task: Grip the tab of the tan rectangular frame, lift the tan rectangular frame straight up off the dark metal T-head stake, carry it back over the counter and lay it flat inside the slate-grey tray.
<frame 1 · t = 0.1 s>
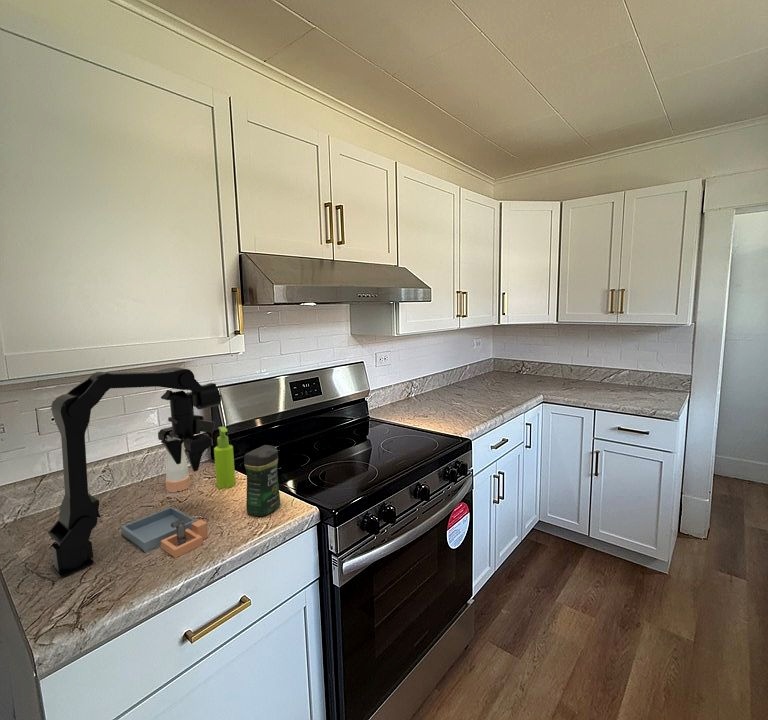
hand: (187, 467, 118), 15 cm above the counter, tool pointing down, fingers open, 9 cm apart
coffee jar: (264, 510, 123), on the counter
tray: (160, 532, 112), on the counter
pepper shaker: (178, 488, 139), on the counter
stake: (182, 546, 105), on the counter
soap dispenser: (226, 486, 140), on the counter
tan rectangular frame: (182, 546, 105), on the counter
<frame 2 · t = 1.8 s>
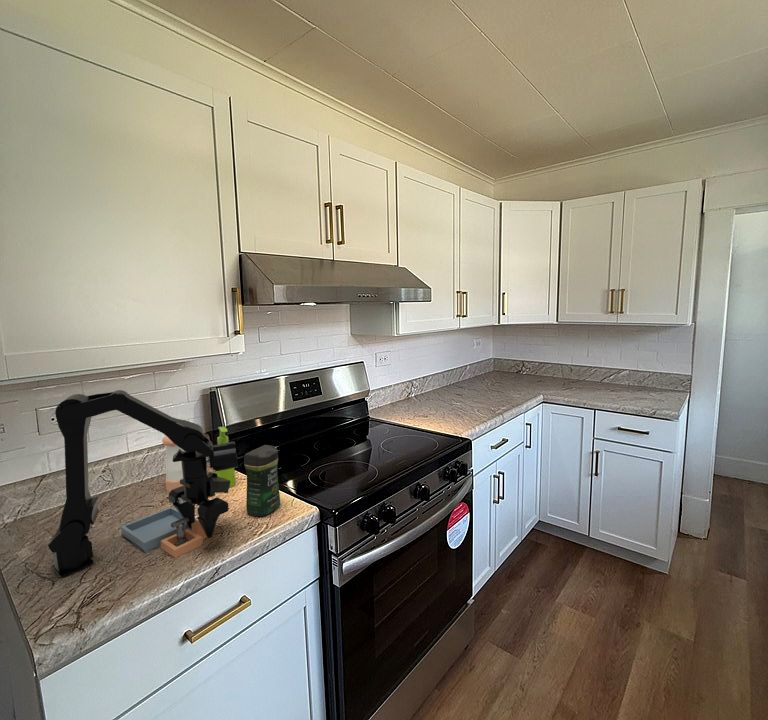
hand: (200, 532, 108), 2 cm above the counter, tool pointing down, fingers open, 8 cm apart
nothing on the counter moved.
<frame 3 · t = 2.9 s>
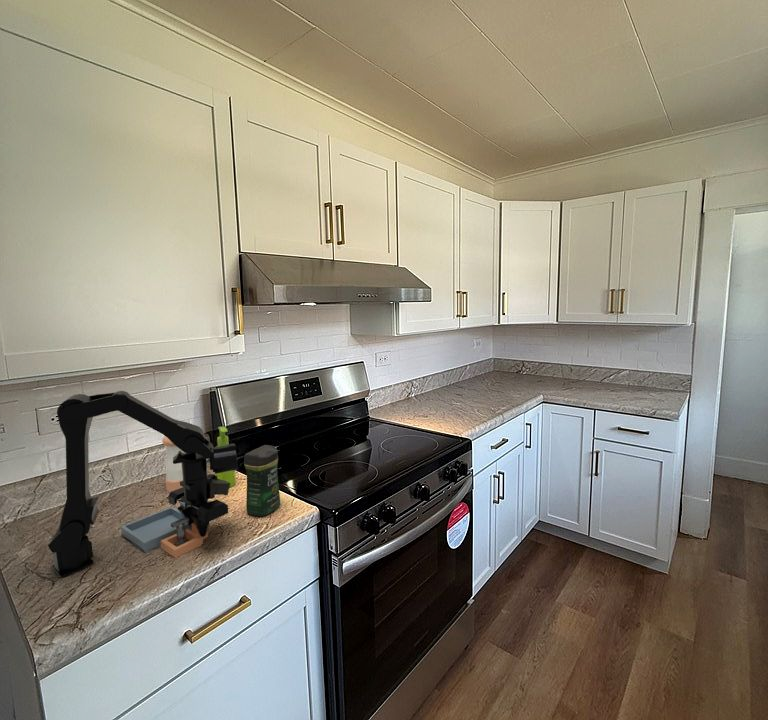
hand: (199, 534, 108), 1 cm above the counter, tool pointing down, fingers closed on tan rectangular frame, 3 cm apart
tan rectangular frame: (182, 546, 105), on the counter, touching gripper
everything else where it was.
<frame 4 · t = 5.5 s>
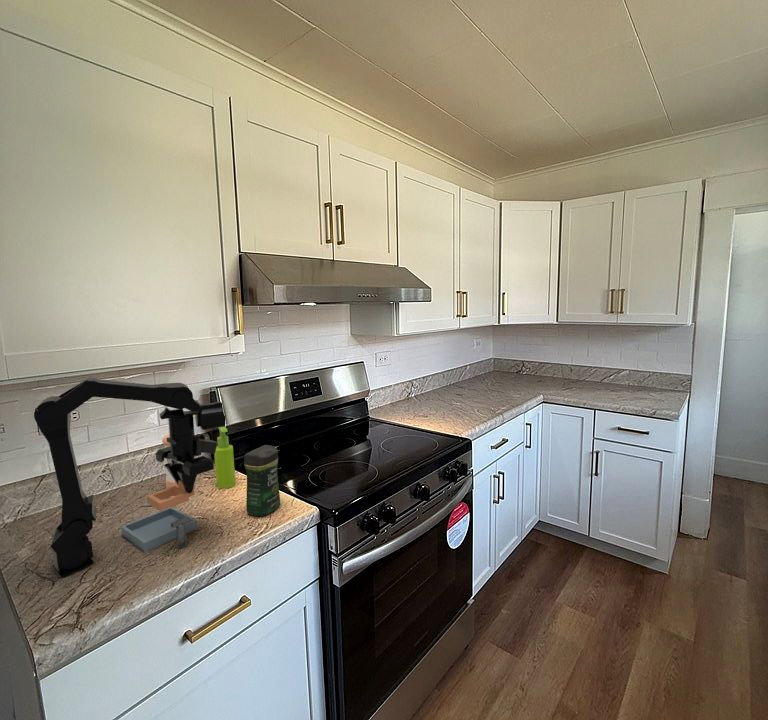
hand: (186, 491, 109), 12 cm above the counter, tool pointing down, fingers closed on tan rectangular frame, 3 cm apart
tan rectangular frame: (168, 501, 105), point 11 cm above the counter, touching gripper
everything else where it was.
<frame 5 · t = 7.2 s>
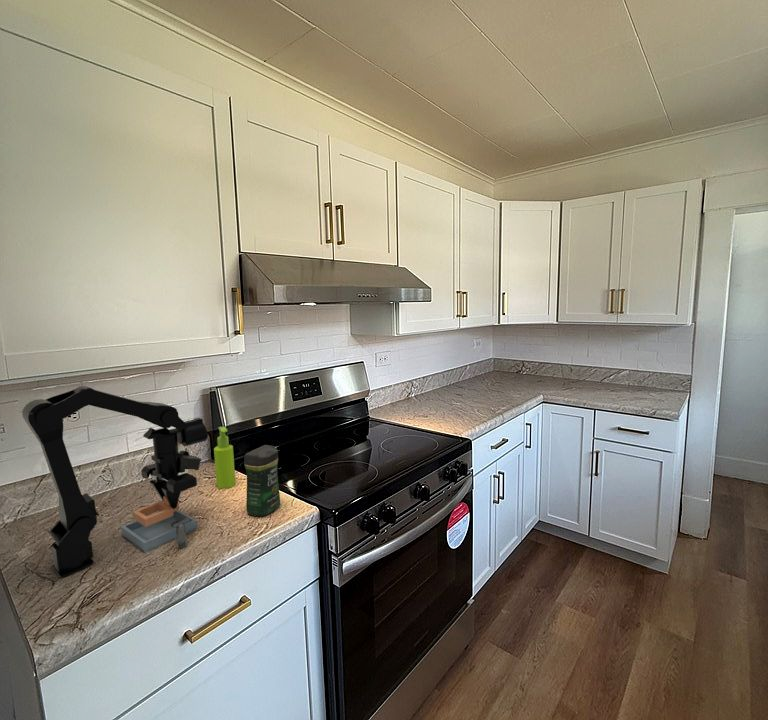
hand: (171, 506, 114), 6 cm above the counter, tool pointing down, fingers closed on tan rectangular frame, 3 cm apart
tan rectangular frame: (153, 517, 110), point 5 cm above the counter, touching gripper
everything else where it was.
when the fingers open (3 cm above the counter, at t = 8.4 s): tan rectangular frame drops 1 cm, resting on tray.
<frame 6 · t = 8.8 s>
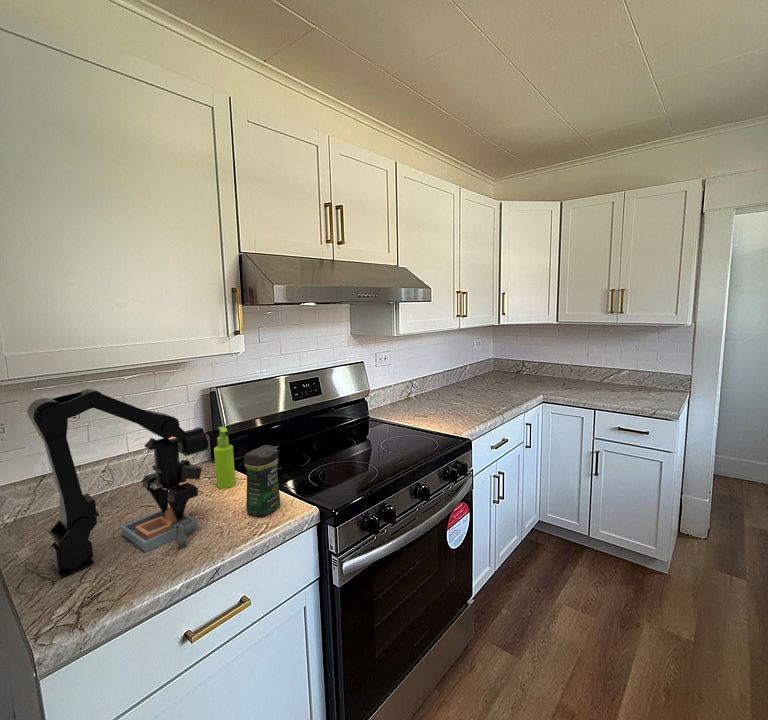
hand: (172, 516, 114), 3 cm above the counter, tool pointing down, fingers open, 8 cm apart
tan rectangular frame: (155, 532, 111), resting on tray
everything else where it was.
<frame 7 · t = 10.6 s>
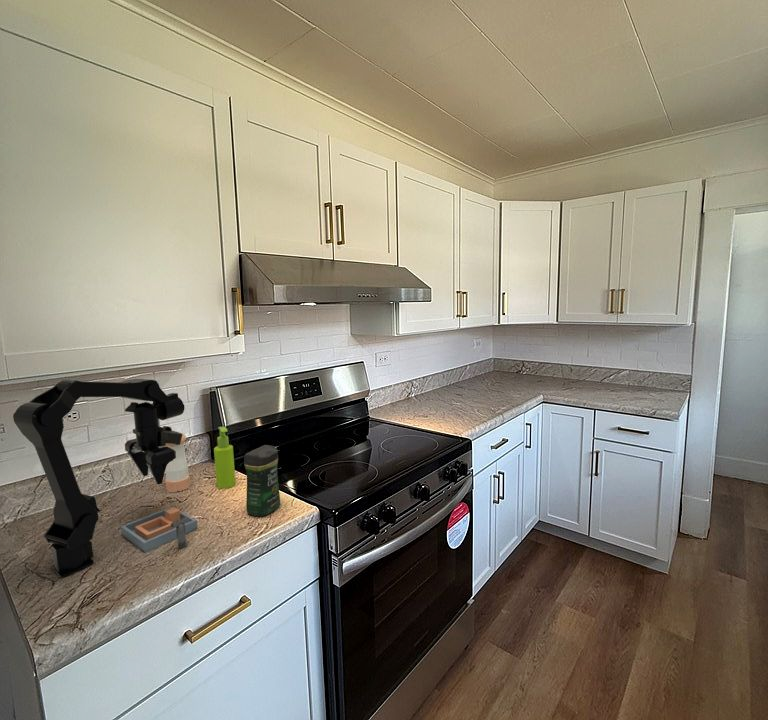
hand: (152, 479, 116), 12 cm above the counter, tool pointing down, fingers open, 9 cm apart
nothing on the counter moved.
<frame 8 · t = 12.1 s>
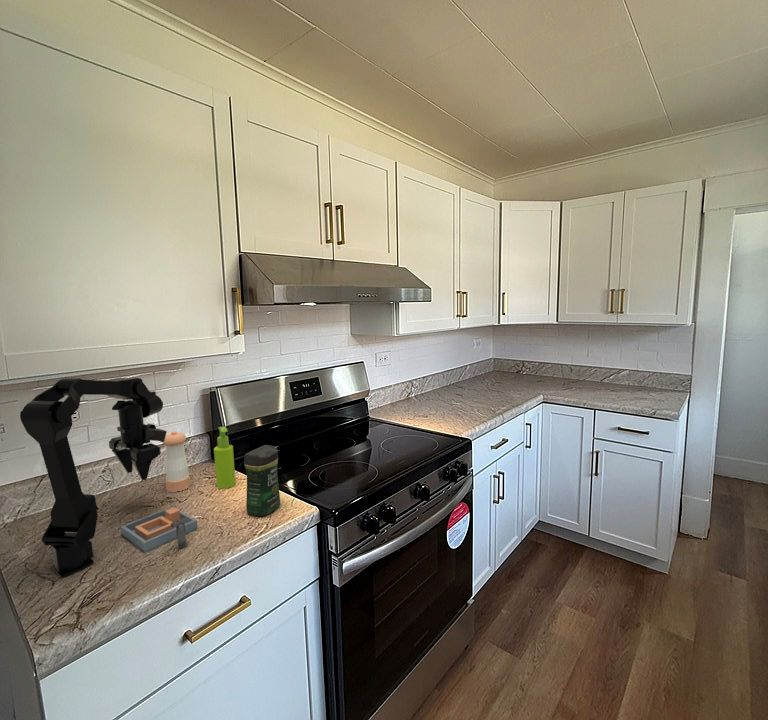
hand: (137, 476, 119), 12 cm above the counter, tool pointing down, fingers open, 9 cm apart
nothing on the counter moved.
at the end: tan rectangular frame 0.4 cm from the target spot on the tray, point 0.5 cm above the tray's base; tan rectangular frame tilted 0°; the gripper is holding nothing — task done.
